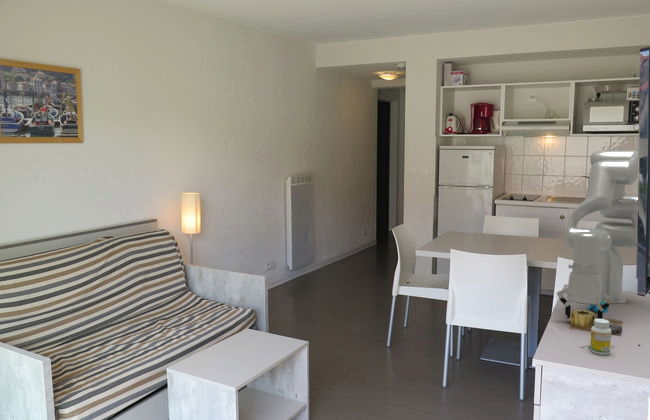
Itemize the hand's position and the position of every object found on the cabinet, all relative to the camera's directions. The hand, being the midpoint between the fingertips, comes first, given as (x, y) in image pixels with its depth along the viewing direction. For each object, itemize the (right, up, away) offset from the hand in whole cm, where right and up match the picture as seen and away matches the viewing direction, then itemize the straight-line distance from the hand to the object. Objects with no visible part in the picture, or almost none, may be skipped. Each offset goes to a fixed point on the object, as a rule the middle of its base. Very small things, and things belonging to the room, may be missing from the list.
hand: (583, 319), depth 179 cm
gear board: (+4, -3, 0) cm, 5 cm away
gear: (+13, -1, +15) cm, 20 cm away
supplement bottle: (-5, -6, -20) cm, 22 cm away
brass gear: (0, -2, 0) cm, 2 cm away
